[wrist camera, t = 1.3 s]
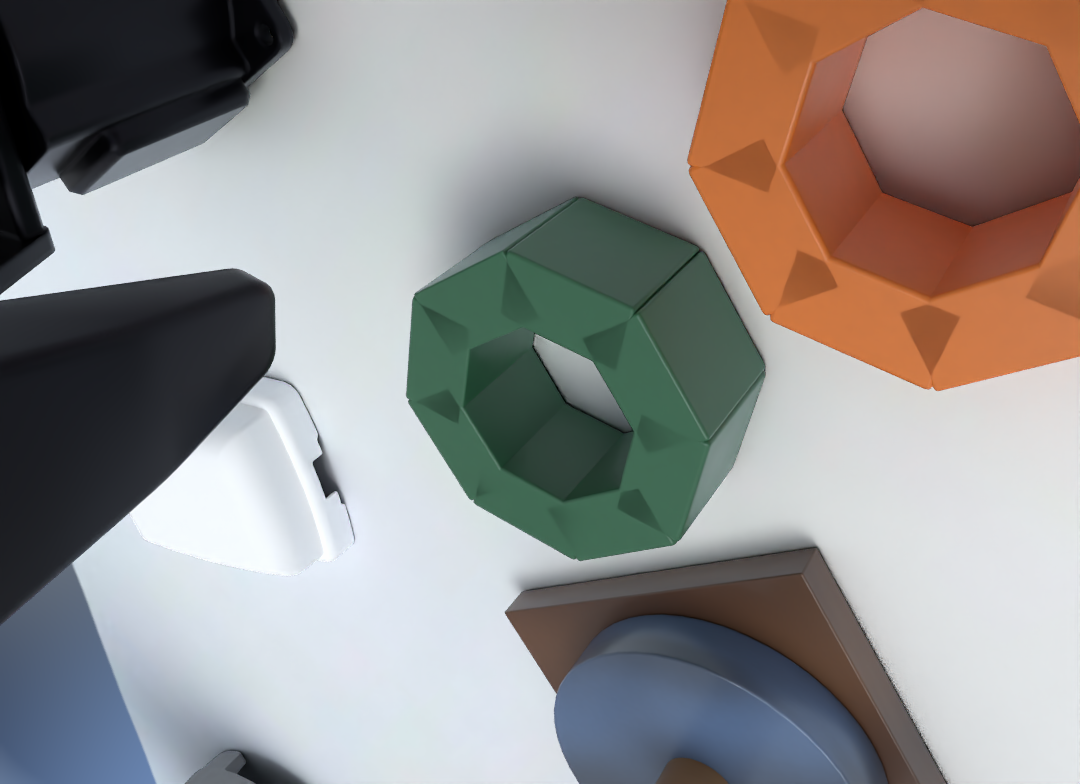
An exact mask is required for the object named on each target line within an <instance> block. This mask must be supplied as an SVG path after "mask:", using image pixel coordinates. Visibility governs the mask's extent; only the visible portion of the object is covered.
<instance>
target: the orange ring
mask: <svg viewBox="0 0 1080 784" xmlns="http://www.w3.org/2000/svg"><path fill="white" fill-rule="evenodd" d="M921 8H926V9H929V10H932V11H936V12H939V13H942V14H945V15H948V16H951V17H955V18H958V19H961V20H964V21H967V22H971V23H974V24H977V25H980V26H983V27H987V28H990V29H993V30H996V31H999V32H1003V33H1006V34H1009V35H1012V36H1015V37H1019V38H1022V39H1025V40H1028V41H1031V42H1035V43H1038V44H1041V45H1044V46H1046V47H1047V50H1048V52H1049V54H1050V56H1051V59H1052V61H1053V63H1054V66H1055V68H1056V70H1057V73H1058V75H1059V77H1060V80H1061V82H1062V84H1063V87H1064V89H1065V91H1066V94H1067V96H1068V98H1069V100H1070V103H1071V105H1072V107H1073V110H1074V112H1075V114H1076V117H1077V119H1078V121H1079V124H1080V0H727V2H726V6H725V10H724V14H723V18H722V22H721V26H720V30H719V34H718V38H717V42H716V46H715V50H714V54H713V58H712V62H711V66H710V70H709V74H708V78H707V82H706V86H705V90H704V94H703V99H702V103H701V107H700V111H699V115H698V119H697V123H696V127H695V131H694V135H693V139H692V143H691V147H690V151H689V155H688V159H687V161H688V164H689V165H690V166H691V167H690V168H689V174H690V176H691V178H692V180H693V182H694V184H695V186H696V187H697V189H698V191H699V193H700V195H701V197H702V199H703V201H704V203H705V204H706V206H707V208H708V210H709V212H710V214H711V216H712V218H713V219H714V221H715V223H716V225H717V227H718V229H719V231H720V233H721V235H722V236H723V238H724V240H725V242H726V244H727V246H728V248H729V250H730V252H731V253H732V255H733V257H734V259H735V261H736V263H737V265H738V267H739V268H740V270H741V272H742V274H743V276H744V278H745V280H746V282H747V284H748V285H749V287H750V289H751V291H752V293H753V295H754V297H755V299H756V301H757V302H758V304H759V306H760V308H761V310H762V312H763V313H764V314H765V315H770V319H771V321H772V322H774V323H776V324H779V325H781V326H783V327H786V328H788V329H790V330H792V331H795V332H797V333H799V334H801V335H804V336H806V337H808V338H811V339H813V340H815V341H817V342H820V343H822V344H824V345H826V346H829V347H831V348H833V349H836V350H838V351H840V352H842V353H845V354H847V355H849V356H851V357H854V358H856V359H858V360H860V361H863V362H865V363H867V364H870V365H872V366H874V367H876V368H879V369H881V370H883V371H885V372H888V373H890V374H892V375H895V376H897V377H899V378H901V379H904V380H906V381H908V382H910V383H913V384H915V385H917V386H919V387H922V388H924V389H930V388H932V387H933V388H934V389H935V390H936V391H941V390H945V389H949V388H953V387H957V386H961V385H965V384H969V383H973V382H977V381H981V380H986V379H990V378H994V377H998V376H1002V375H1006V374H1010V373H1014V372H1018V371H1022V370H1026V369H1030V368H1034V367H1038V366H1042V365H1046V364H1051V363H1055V362H1059V361H1063V360H1067V359H1071V358H1075V357H1079V356H1080V177H1079V179H1078V181H1077V183H1076V185H1075V187H1074V189H1073V191H1072V192H1070V193H1067V194H1064V195H1061V196H1059V197H1056V198H1053V199H1050V200H1047V201H1044V202H1041V203H1039V204H1036V205H1033V206H1030V207H1027V208H1024V209H1022V210H1019V211H1016V212H1013V213H1010V214H1007V215H1005V216H1002V217H999V218H996V219H993V220H990V221H988V222H985V223H982V224H979V225H976V226H973V227H972V226H969V225H966V224H964V223H961V222H958V221H956V220H953V219H951V218H948V217H945V216H943V215H940V214H937V213H935V212H932V211H930V210H927V209H924V208H922V207H919V206H916V205H914V204H911V203H908V202H906V201H903V200H901V199H898V198H895V197H893V196H890V195H887V194H885V193H882V191H881V189H880V187H879V185H878V183H877V181H876V179H875V177H874V175H873V173H872V170H871V168H870V166H869V164H868V162H867V160H866V158H865V156H864V154H863V152H862V150H861V148H860V146H859V144H858V142H857V140H856V138H855V136H854V133H853V131H852V129H851V127H850V125H849V123H848V121H847V119H846V117H845V115H844V113H843V111H842V109H843V106H844V103H845V100H846V97H847V94H848V92H849V89H850V86H851V83H852V80H853V77H854V74H855V71H856V68H857V65H858V62H859V60H860V57H861V54H862V51H863V48H864V45H865V42H866V39H867V37H868V36H870V35H871V34H873V33H875V32H877V31H879V30H881V29H883V28H885V27H887V26H889V25H891V24H893V23H895V22H896V21H898V20H900V19H902V18H904V17H906V16H908V15H910V14H912V13H914V12H916V11H918V10H920V9H921Z"/></svg>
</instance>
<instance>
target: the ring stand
mask: <svg viewBox="0 0 1080 784" xmlns="http://www.w3.org/2000/svg"><path fill="white" fill-rule="evenodd" d="M505 614H506V616H507V617H508V619H509V621H510V622H511V624H512V625H513V627H514V628H515V630H516V631H517V633H518V635H519V636H520V638H521V639H522V641H523V642H524V644H525V645H526V647H527V649H528V650H529V652H530V653H531V655H532V656H533V658H534V659H535V661H536V663H537V664H538V666H539V667H540V669H541V670H542V672H543V673H544V675H545V677H546V678H547V680H548V681H549V683H550V684H551V686H552V687H553V689H554V691H555V692H556V694H557V695H556V700H555V707H554V720H555V728H556V733H557V738H558V741H559V743H560V746H561V749H562V752H563V754H564V757H565V759H566V761H567V763H568V765H569V767H570V769H571V771H572V772H573V774H574V776H575V777H576V779H577V781H578V782H579V784H946V782H945V780H944V779H943V777H942V775H941V773H940V771H939V769H938V768H937V766H936V764H935V762H934V760H933V759H932V757H931V755H930V753H929V751H928V749H927V748H926V746H925V744H924V742H923V740H922V739H921V737H920V735H919V733H918V731H917V729H916V728H915V726H914V724H913V722H912V720H911V718H910V717H909V715H908V713H907V711H906V709H905V708H904V706H903V704H902V702H901V700H900V698H899V697H898V695H897V693H896V691H895V689H894V688H893V686H892V684H891V682H890V680H889V678H888V677H887V675H886V673H885V671H884V669H883V667H882V666H881V664H880V662H879V660H878V658H877V657H876V655H875V653H874V651H873V649H872V647H871V646H870V644H869V642H868V640H867V638H866V637H865V635H864V633H863V631H862V629H861V627H860V626H859V624H858V622H857V620H856V618H855V617H854V615H853V613H852V611H851V609H850V607H849V606H848V604H847V602H846V600H845V598H844V596H843V595H842V593H841V591H840V589H839V587H838V586H837V584H836V582H835V580H834V578H833V576H832V575H831V573H830V571H829V569H828V567H827V566H826V564H825V562H824V560H823V558H822V556H821V555H820V553H819V551H818V549H817V548H811V549H804V550H798V551H791V552H784V553H777V554H771V555H764V556H757V557H751V558H744V559H737V560H731V561H724V562H717V563H710V564H704V565H697V566H690V567H684V568H677V569H670V570H663V571H657V572H650V573H643V574H637V575H630V576H623V577H617V578H610V579H603V580H596V581H590V582H583V583H576V584H570V585H563V586H556V587H549V588H543V589H536V590H529V591H523V592H521V594H520V595H519V596H518V597H517V598H516V600H515V601H514V602H513V603H512V604H511V605H510V607H509V608H508V609H507V610H506V611H505Z"/></svg>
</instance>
